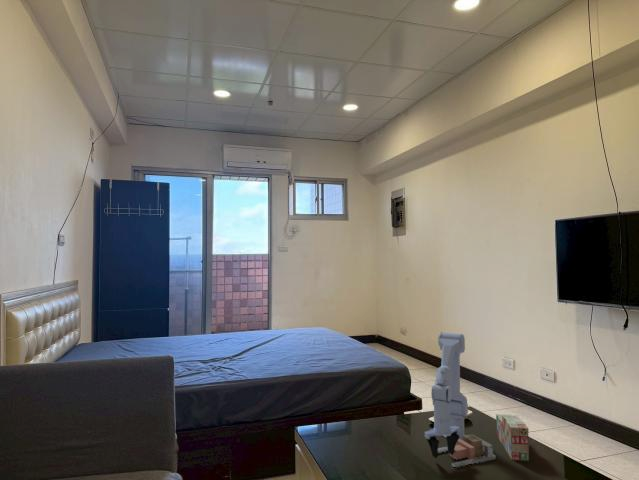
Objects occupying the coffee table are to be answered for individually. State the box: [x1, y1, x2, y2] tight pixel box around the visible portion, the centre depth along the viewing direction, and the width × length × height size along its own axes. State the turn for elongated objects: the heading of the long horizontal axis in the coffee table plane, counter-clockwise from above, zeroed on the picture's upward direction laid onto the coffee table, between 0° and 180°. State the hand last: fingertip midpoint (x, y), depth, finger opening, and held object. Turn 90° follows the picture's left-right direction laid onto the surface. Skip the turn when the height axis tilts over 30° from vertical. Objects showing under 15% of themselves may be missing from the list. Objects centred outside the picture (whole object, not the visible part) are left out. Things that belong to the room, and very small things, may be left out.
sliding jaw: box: [448, 439, 475, 461], centre depth 155 cm, size 8×7×4 cm
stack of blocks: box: [495, 413, 530, 462], centre depth 162 cm, size 21×6×12 cm, turn 170°
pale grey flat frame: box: [438, 433, 497, 468], centre depth 155 cm, size 13×19×4 cm
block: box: [462, 433, 483, 457], centre depth 157 cm, size 6×4×6 cm, turn 21°
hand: (442, 455), depth 152 cm, fingers open, 7 cm apart
